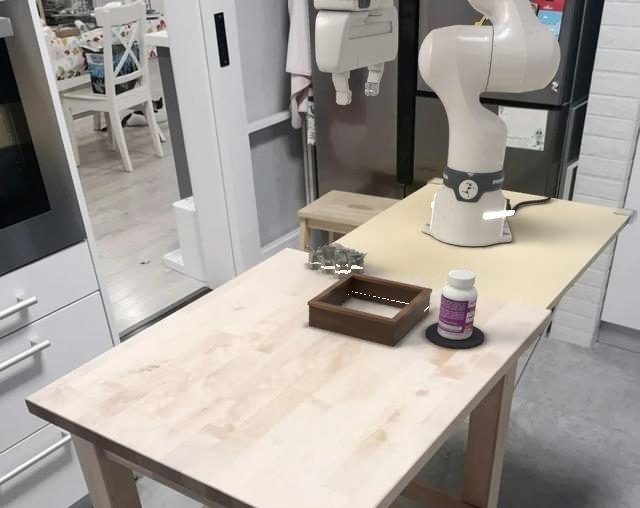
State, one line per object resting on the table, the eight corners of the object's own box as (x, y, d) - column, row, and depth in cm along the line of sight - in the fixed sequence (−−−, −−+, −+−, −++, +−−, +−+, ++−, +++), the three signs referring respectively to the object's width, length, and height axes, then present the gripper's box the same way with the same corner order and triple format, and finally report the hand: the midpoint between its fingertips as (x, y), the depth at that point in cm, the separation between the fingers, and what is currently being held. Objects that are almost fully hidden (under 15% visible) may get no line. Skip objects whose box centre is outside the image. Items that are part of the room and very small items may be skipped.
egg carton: (302, 266, 136) (302, 245, 133) (331, 257, 140) (331, 236, 138) (340, 281, 129) (341, 260, 127) (370, 272, 133) (371, 250, 131)
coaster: (431, 320, 116) (431, 318, 116) (487, 328, 113) (488, 326, 113) (420, 343, 109) (420, 341, 108) (479, 353, 106) (479, 350, 106)
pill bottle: (471, 342, 108) (480, 282, 103) (436, 339, 109) (442, 279, 104) (472, 327, 113) (480, 269, 107) (438, 324, 113) (444, 266, 108)
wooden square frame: (349, 294, 124) (350, 271, 122) (430, 312, 118) (432, 288, 116) (307, 326, 113) (307, 301, 111) (393, 347, 107) (395, 322, 105)
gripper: (373, -10, 109) (369, 89, 117) (307, -6, 94) (306, 107, 102) (411, -9, 107) (404, 92, 115) (349, -5, 92) (346, 111, 99)
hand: (358, 99), depth 108 cm, fingers open, 8 cm apart
